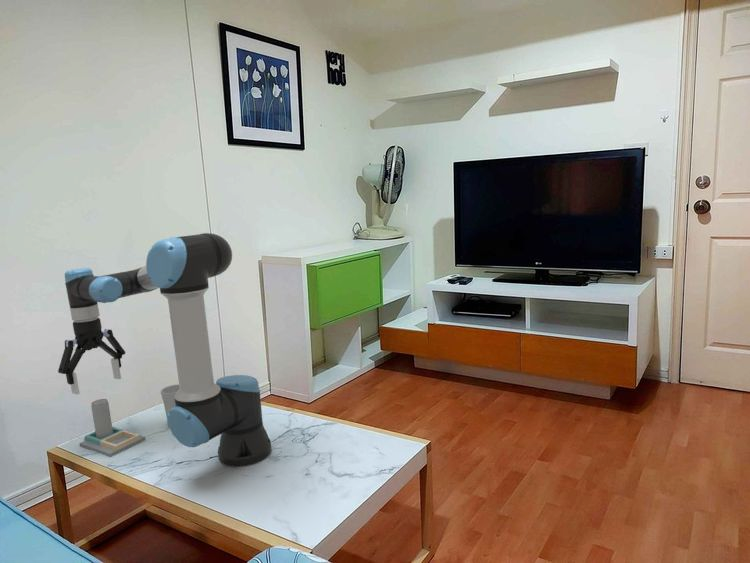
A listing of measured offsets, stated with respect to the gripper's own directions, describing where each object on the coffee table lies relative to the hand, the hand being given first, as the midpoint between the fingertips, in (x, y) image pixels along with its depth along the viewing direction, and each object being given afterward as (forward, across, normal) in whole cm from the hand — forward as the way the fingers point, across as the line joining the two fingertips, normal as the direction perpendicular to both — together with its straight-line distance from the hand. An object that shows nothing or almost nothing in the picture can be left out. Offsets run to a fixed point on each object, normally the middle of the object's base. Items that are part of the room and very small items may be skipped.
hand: (97, 385), depth 167 cm
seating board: (+18, 0, +3) cm, 19 cm away
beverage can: (+18, 0, -1) cm, 18 cm away
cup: (+19, -19, +10) cm, 29 cm away
